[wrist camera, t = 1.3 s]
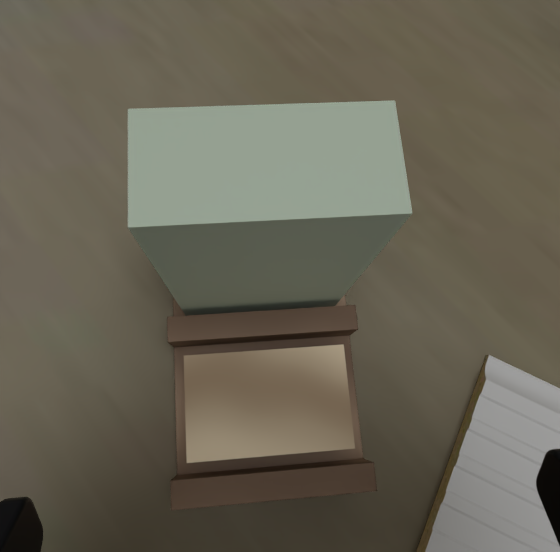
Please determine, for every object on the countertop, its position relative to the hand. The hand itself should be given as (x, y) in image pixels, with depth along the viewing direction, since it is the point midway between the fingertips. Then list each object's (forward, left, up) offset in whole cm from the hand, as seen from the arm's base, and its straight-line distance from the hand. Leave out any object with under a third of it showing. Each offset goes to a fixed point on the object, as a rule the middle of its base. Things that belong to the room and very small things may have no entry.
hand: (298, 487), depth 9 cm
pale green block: (+6, +4, -12) cm, 14 cm away
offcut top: (+1, +1, -11) cm, 12 cm away
